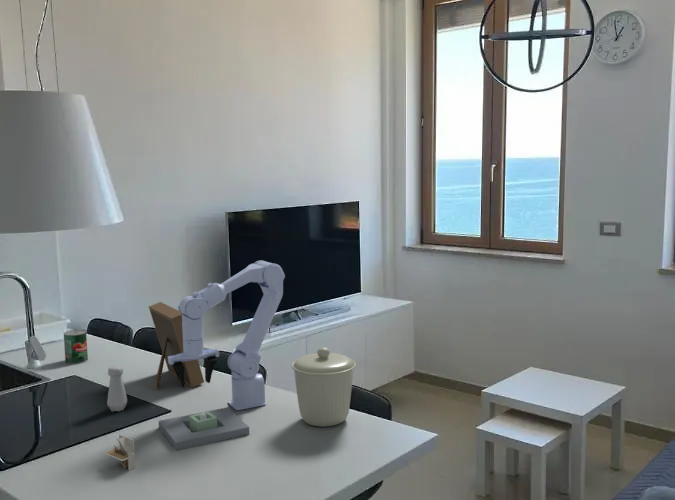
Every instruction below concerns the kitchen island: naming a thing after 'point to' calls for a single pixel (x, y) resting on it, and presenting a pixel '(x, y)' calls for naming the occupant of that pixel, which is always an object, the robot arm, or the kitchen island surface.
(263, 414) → the kitchen island surface
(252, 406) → the robot arm
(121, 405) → the salt shaker
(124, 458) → the architectural model
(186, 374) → the photo frame
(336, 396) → the canister
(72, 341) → the canned tomato
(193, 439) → the slotted base plate
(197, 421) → the hollow block
